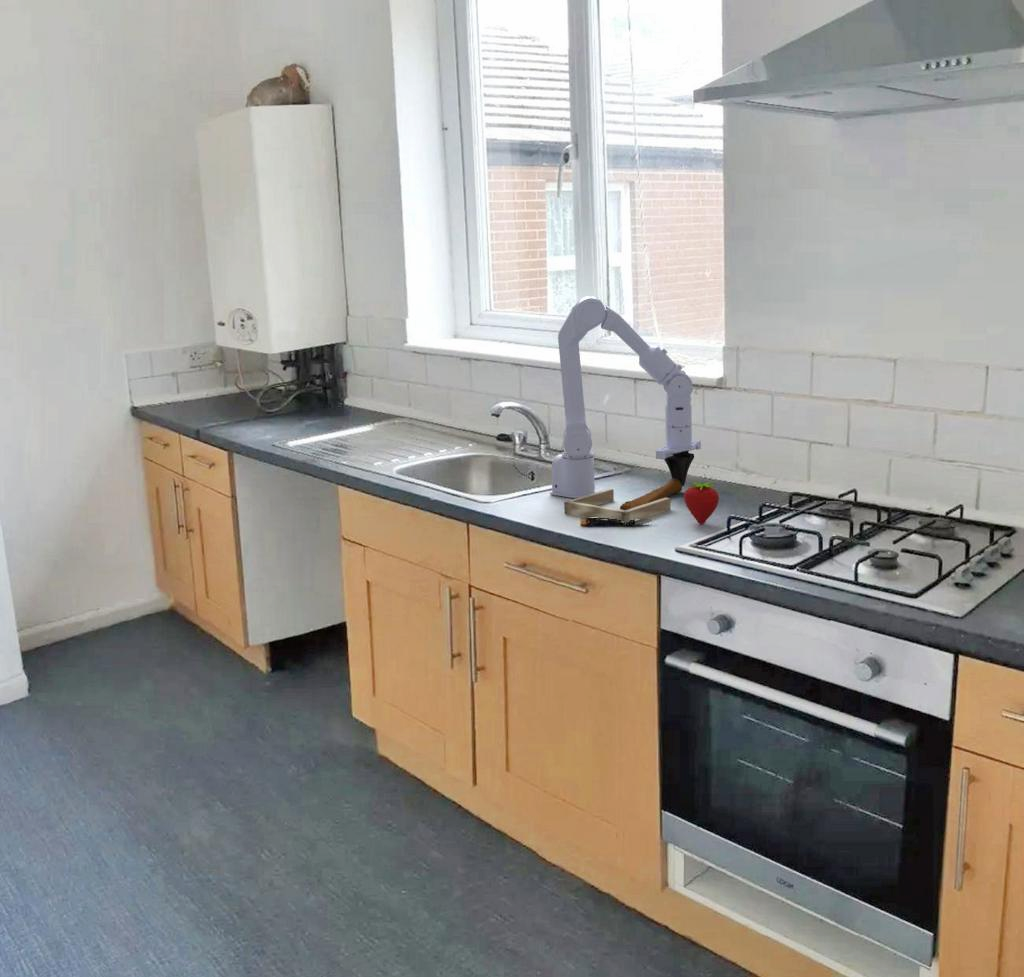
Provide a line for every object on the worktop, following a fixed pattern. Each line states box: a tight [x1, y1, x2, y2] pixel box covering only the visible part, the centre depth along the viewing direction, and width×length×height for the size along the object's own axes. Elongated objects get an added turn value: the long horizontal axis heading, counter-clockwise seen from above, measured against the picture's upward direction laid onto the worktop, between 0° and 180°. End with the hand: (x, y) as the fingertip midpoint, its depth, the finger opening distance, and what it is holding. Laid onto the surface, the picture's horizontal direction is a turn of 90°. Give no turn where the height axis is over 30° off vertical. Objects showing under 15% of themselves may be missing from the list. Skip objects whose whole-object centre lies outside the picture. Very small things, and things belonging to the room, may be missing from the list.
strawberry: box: [683, 474, 720, 525], centre depth 216 cm, size 6×8×10 cm
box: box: [563, 488, 671, 525], centre depth 229 cm, size 16×15×2 cm
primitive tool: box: [619, 477, 683, 510], centre depth 237 cm, size 19×6×4 cm, turn 143°
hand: (679, 485), depth 245 cm, fingers closed
